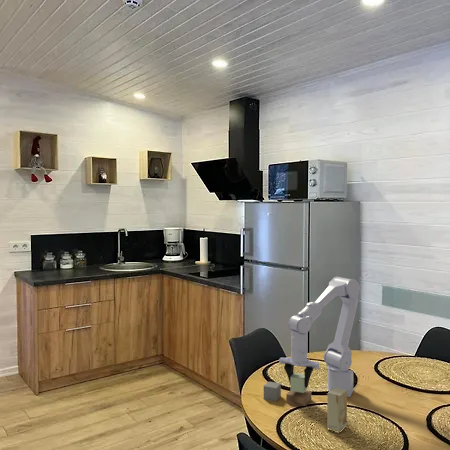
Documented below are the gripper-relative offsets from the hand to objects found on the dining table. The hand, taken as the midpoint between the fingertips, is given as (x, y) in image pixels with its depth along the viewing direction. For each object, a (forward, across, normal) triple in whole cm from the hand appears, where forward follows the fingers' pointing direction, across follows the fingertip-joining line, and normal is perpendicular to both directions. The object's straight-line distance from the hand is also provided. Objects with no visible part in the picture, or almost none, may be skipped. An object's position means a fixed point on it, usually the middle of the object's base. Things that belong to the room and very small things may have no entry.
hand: (299, 385), depth 168 cm
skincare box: (+6, +17, -15) cm, 23 cm away
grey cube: (+6, -10, -1) cm, 12 cm away
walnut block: (+6, 0, 0) cm, 6 cm away
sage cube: (+1, 0, 0) cm, 1 cm away
